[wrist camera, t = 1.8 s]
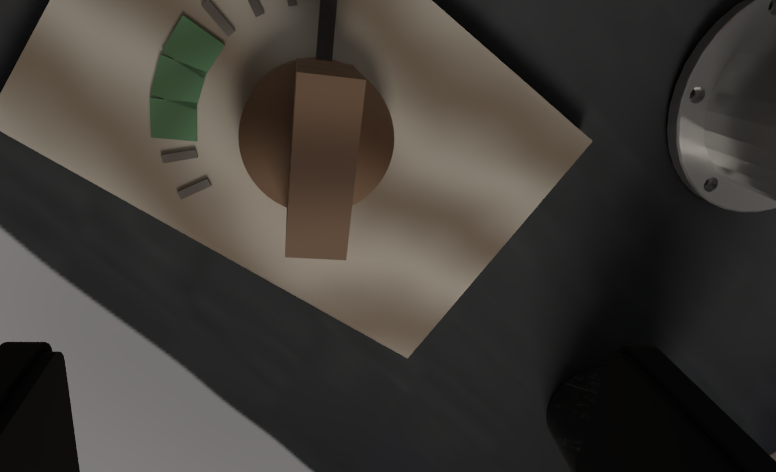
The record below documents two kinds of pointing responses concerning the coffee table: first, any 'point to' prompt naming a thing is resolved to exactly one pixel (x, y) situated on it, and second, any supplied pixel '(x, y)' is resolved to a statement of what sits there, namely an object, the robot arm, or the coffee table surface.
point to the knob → (316, 144)
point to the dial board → (222, 154)
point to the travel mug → (573, 412)
